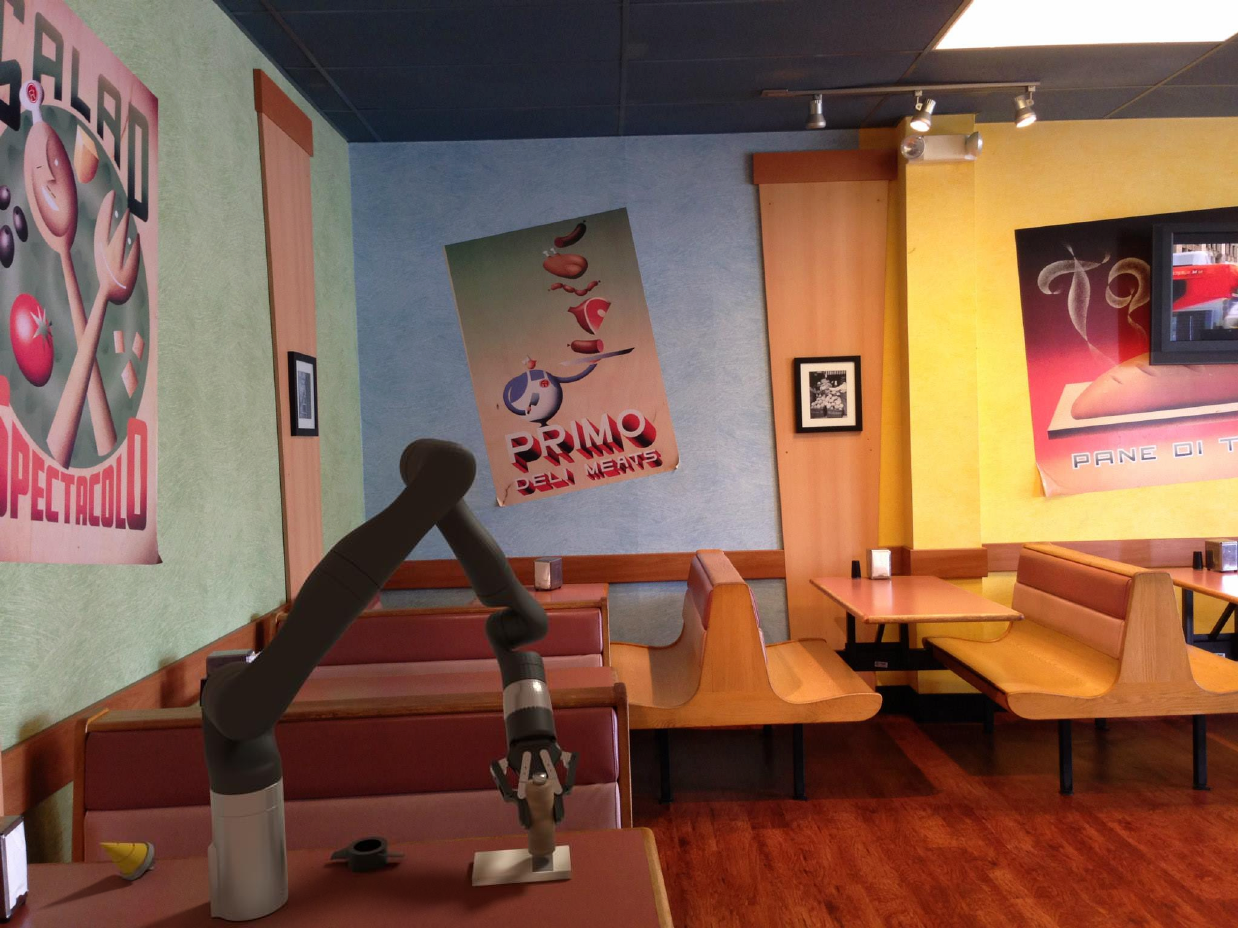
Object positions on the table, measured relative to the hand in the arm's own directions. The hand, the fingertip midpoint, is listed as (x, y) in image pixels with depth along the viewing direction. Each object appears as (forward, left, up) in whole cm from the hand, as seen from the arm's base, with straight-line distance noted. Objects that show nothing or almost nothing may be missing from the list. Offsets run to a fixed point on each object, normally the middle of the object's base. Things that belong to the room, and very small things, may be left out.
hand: (543, 824), depth 132 cm
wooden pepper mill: (0, +2, -5) cm, 5 cm away
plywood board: (-3, +2, -7) cm, 8 cm away
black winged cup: (-26, +7, -8) cm, 28 cm away
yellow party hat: (-60, +8, -8) cm, 61 cm away
